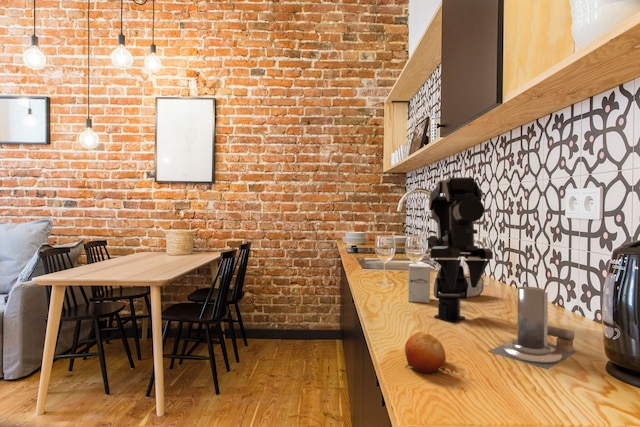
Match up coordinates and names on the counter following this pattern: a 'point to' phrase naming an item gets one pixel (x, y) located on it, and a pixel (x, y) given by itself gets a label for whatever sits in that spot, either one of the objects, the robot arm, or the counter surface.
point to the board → (500, 352)
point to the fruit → (424, 353)
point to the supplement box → (419, 283)
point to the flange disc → (551, 358)
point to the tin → (474, 291)
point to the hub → (532, 322)
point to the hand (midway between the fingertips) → (463, 288)
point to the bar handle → (562, 338)
